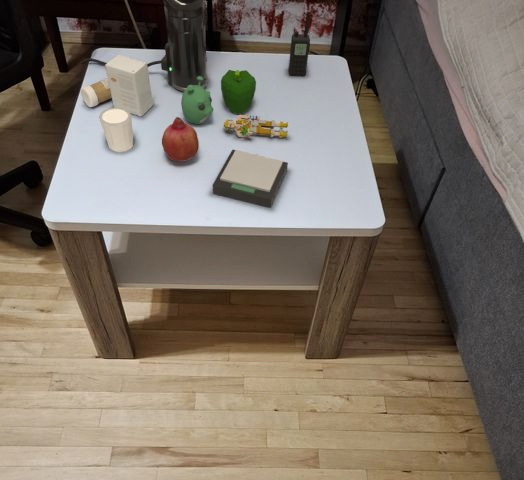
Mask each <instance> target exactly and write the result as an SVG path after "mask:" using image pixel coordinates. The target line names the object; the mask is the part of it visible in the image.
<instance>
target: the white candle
mask: <svg viewBox="0 0 524 480" xmlns="http://www.w3.org/2000/svg"><path fill="white" fill-rule="evenodd" d="M98 119H99V121H100V126H101V128H102V131H103V134H104V137H105V140H106V143H107V145H108V148H109V149H110V150H111V151H113V152H116V153H123V152H127V151H129V150H131V149H132V148H133V146H134V134H133V121H132V114H131V113H130V112H129V111H127V110H126V109H123V108H116V107H114V106H113V107H108V108H106V109H104V110H102V111H101V112H100V113H99V115H98Z"/></svg>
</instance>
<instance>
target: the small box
mask: <svg viewBox="0 0 524 480" xmlns="http://www.w3.org/2000/svg"><path fill="white" fill-rule="evenodd" d="M106 63H107V64H106V65H104V67H105V71H106V78H108V82H109V86H110V91H111V96H112V98H111V100H112V104H113V108H114V107H116V108H123V109H126V110H127V111H129V112H130V114H131V115H134V116H138V117H140V118H141V117H143V116H144V115H145V114H146V113H147V112H148V111H149V110H150V109H151V108H152V107H153V106H154V102H153V95H152V89H151V88H152V87H151V81H150V75H149V67H147V64H148V63H147V62H145V61H141V60H138V59H135V58H131V57H128V56H124V55H122V54H117V55H116V56H114V57H113V58H112V59H111V60H109V61H108V62H106Z"/></svg>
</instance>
